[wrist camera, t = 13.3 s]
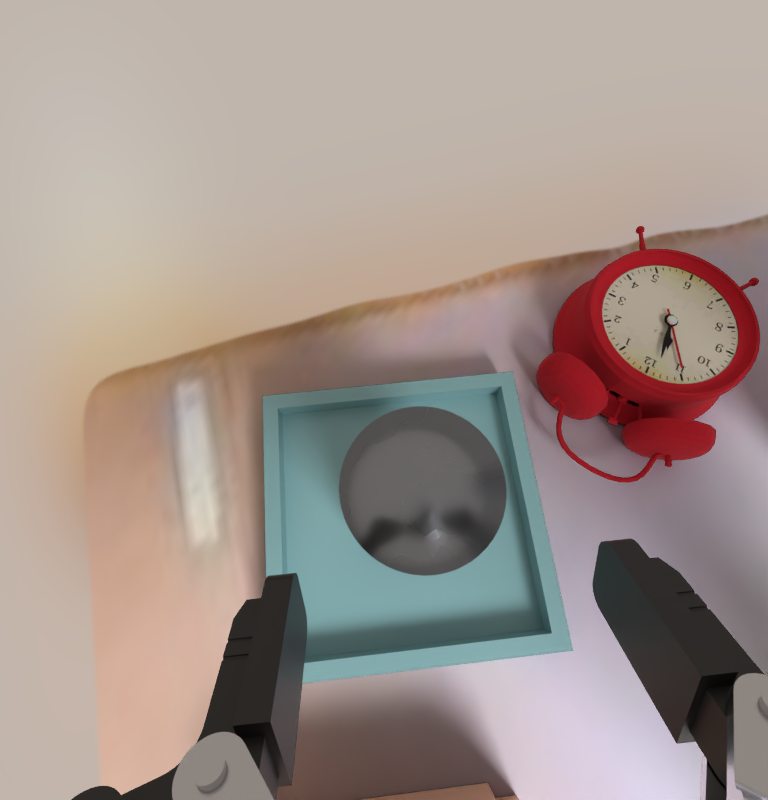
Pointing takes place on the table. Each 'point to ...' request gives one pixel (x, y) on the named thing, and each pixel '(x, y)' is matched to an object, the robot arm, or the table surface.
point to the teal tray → (385, 587)
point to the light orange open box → (450, 794)
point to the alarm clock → (651, 352)
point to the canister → (422, 490)
